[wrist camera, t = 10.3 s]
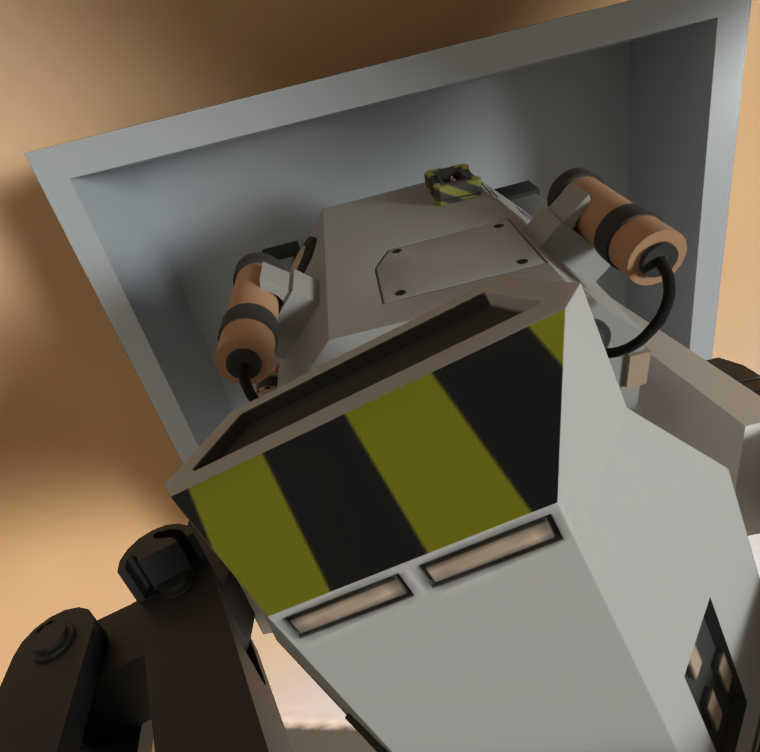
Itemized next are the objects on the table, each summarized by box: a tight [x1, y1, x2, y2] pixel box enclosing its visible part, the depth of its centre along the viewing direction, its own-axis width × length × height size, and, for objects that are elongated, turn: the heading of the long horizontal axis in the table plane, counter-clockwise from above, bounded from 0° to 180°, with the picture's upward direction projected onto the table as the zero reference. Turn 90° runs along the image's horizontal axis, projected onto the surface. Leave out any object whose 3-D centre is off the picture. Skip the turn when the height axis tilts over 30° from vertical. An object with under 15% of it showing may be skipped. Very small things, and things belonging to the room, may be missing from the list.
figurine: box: [164, 164, 760, 752], centre depth 12 cm, size 9×12×15 cm
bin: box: [24, 0, 751, 464], centre depth 18 cm, size 17×19×5 cm
